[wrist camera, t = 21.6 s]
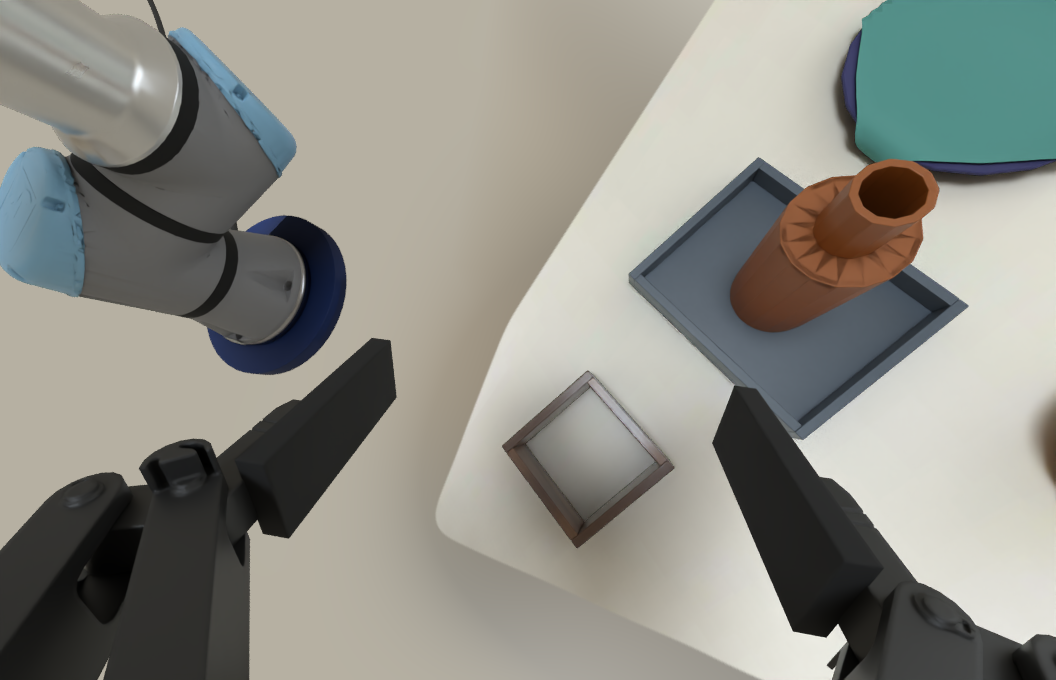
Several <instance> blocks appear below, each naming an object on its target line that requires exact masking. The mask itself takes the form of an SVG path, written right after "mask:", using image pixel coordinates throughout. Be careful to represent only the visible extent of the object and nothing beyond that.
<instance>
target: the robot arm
mask: <svg viewBox="0 0 1056 680" xmlns="http://www.w3.org/2000/svg"><path fill="white" fill-rule="evenodd" d="M147 1H148V3H149V5H150V7H151V10H152V12H153V15H154V18H155V20H156V24H157V27H158V30H159V31H157V30H156V29H155V28H153V27H152V26H150V25H149V24H147V23H145V22H144V21H142V20H140V19H138V18H135V17H132V16H128V15H122V14H110V15H99V14H98V13H97V12H95V11H94V10H92V9H91V8H89V7H88V6H86V5H85V4H84V3H82V2H81V1H79V0H0V105H2V106H5V107H7V108H10V109H12V110H15V111H17V112H20V113H22V114H24V115H27V116H29V117H31V118H34V119H36V120H39V121H41V122H44V123H46V124H48V125H51V126H52V128H53V130H54V131H55V133H56V135H57V136H58V138H59V140H60V141H61V142H62V143H63V144H64V146H65V147H66V148H67V149H69V151H71V152H72V154H71V155H69V156H67V157H64V156H63V155H62V154H61V153H60V152H58V151H56V150H49V149H45V148H41V147H33V148H29V149H27V152H22V153H21V154H19V156H18V157H17V158H16V159H15V160H14V161H13V163H12V164H11V166H10V167H9V169H8V171H7V173H6V175H5V177H4V179H3V182H2V185H1V188H0V265H1V267H2V268H3V269H4V270H5V271H6V272H7V273H8V274H9V275H10V276H12V277H13V278H15V279H17V280H19V281H21V282H24V283H27V284H30V285H35V286H39V287H42V288H46V289H50V290H54V291H58V292H62V293H65V294H67V295H69V296H72V297H78V296H80V297H85V298H90V299H95V300H100V301H105V302H110V303H115V304H120V305H125V306H130V307H136V308H141V309H146V310H151V311H156V312H161V313H166V314H171V315H176V316H181V317H186V318H190V319H193V320H195V321H197V322H199V323H201V324H203V325H204V326H206V327H208V328H210V329H212V330H214V331H216V332H217V333H219V334H221V335H223V336H225V337H227V338H226V339H228V340H230V341H232V342H235V343H239V344H242V343H244V344H250V345H265V344H269V343H272V342H274V341H276V340H278V339H279V338H281V337H282V336H284V335H285V334H286V333H287V332H288V331H290V330H291V328H292V327H293V326H294V325H295V324H296V322H297V321H298V320H299V318H300V316H301V315H302V313H303V311H304V309H305V307H306V304H307V301H308V298H309V294H310V288H311V273H310V267H309V264H308V261H307V259H306V257H305V255H304V254H303V252H302V251H301V250H300V249H299V248H298V247H297V246H296V245H294V244H292V243H290V242H288V241H286V240H284V239H282V238H279V237H276V236H272V235H263V234H257V233H251V232H244V231H238V228H237V221H238V220H239V219H240V218H241V217H242V215H243V214H244V213H245V212H246V211H247V210H248V209H249V208H250V207H251V206H252V205H253V204H254V203H255V202H256V201H257V200H258V199H259V198H260V197H261V195H262V194H263V193H264V192H265V191H266V190H267V189H268V188H269V187H270V186H271V185H272V184H273V183H274V182H275V181H276V180H277V179H278V178H280V177H281V175H282V171H283V170H284V169H285V167H286V166H287V165H288V164H289V162H290V161H291V160H292V158H293V157H294V156H295V153H296V142H295V139H294V138H293V136H292V134H291V133H290V132H289V131H288V130H287V128H286V127H285V126H284V125H283V124H282V123H281V122H280V121H279V120H278V119H277V118H276V117H275V116H274V115H273V114H272V113H271V111H270V110H269V109H268V108H267V107H266V106H265V105H264V104H263V103H262V102H261V101H260V100H259V99H258V98H257V97H256V96H255V95H254V94H253V93H252V92H251V91H250V90H249V89H248V88H247V87H246V86H245V85H244V84H243V83H242V82H241V81H240V80H239V78H238V77H237V76H236V75H234V73H233V72H232V71H230V69H229V68H228V67H227V66H226V65H225V64H224V63H223V62H222V61H221V60H220V59H219V58H218V57H217V56H216V55H215V54H214V53H213V52H212V51H211V50H210V49H209V48H208V47H207V46H206V45H205V44H204V43H203V42H202V41H201V40H200V39H199V38H198V37H196V36H195V35H194V34H193V33H192V32H191V31H190V30H188V29H186V28H179V29H177V30H176V31H170V32H169V35H168V38H167V37H166V35H165V31H164V28H163V25H162V22H161V20H160V16H159V14H158V11H157V9H156V7H155V4H154V2H153V0H147ZM225 337H224V338H225ZM244 344H242V345H244ZM395 399H396V389H395V379H394V369H393V360H392V351H391V341H390V340H384V339H376V338H371V339H370V340H369V341H368V342H367V343H366V344H365V345H364V346H362V347H361V348H360V349H359V350H358V351H357V352H356V353H354V354H353V355H352V356H351V357H350V358H349V359H348V360H346V361H345V362H344V363H343V364H342V365H341V366H340V367H339V368H338V369H336V370H335V371H334V372H333V373H332V374H331V375H330V376H328V377H327V378H326V379H325V380H324V381H323V382H322V383H320V385H318V386H317V387H316V388H315V389H314V390H313V391H311V392H310V393H309V394H308V395H307V396H306V397H305V398H304V399H302V400H301V401H299V400H291V401H289V402H287V403H285V404H283V405H281V406H279V407H277V408H276V409H275V410H273V411H272V412H271V413H270V414H268V415H267V416H266V417H265V418H264V419H263V421H260V422H259V423H258V424H256V425H255V426H254V427H253V428H252V430H249V431H248V432H247V433H246V434H245V435H243V436H242V437H241V438H240V439H239V440H237V441H236V442H235V443H234V444H233V445H231V446H230V447H229V448H228V449H227V450H225V451H224V452H223V453H222V454H221V455H220V456H218V457H217V458H216V455H215V453H214V451H213V448H212V446H211V443H209V442H208V441H206V440H203V439H189V440H183V441H179V442H176V443H173V444H170V445H167V446H165V447H163V448H161V449H159V450H157V451H155V452H154V453H152V454H151V455H150V456H149V457H147V458H146V459H145V460H144V461H143V463H142V464H141V466H140V467H139V469H140V471H141V473H142V475H143V477H144V479H145V480H146V482H147V484H148V485H140V486H130V487H128V486H127V484H126V483H125V481H124V479H123V477H122V476H121V475H120V474H116V473H114V472H112V473H99V474H95V475H91V476H87V477H84V478H82V479H79V480H77V481H75V482H72V483H70V484H68V485H67V486H65V487H63V488H62V489H60V490H58V491H57V492H55V493H54V494H53V495H52V496H51V497H49V498H48V499H47V500H46V501H45V502H44V503H43V504H42V506H41V507H40V508H39V509H38V510H37V511H36V512H35V513H34V514H33V515H32V517H30V519H29V520H28V521H27V522H26V523H25V524H24V525H23V526H22V527H21V528H20V529H19V531H18V532H17V533H16V534H15V535H14V536H13V537H12V538H11V539H10V540H9V541H8V543H7V544H6V545H5V546H4V547H3V548H2V549H1V550H0V680H97V679H98V677H99V676H100V674H101V672H102V670H103V668H104V666H105V664H106V662H107V660H108V658H109V660H108V664H107V668H106V671H105V675H104V679H103V680H249V611H250V609H249V607H250V605H249V604H250V601H249V600H250V597H249V596H250V589H249V588H250V586H249V585H250V539H249V535H248V533H247V531H248V530H249V528H250V527H251V526H252V525H253V524H254V523H255V522H256V521H257V520H258V522H259V525H260V527H261V530H262V532H263V534H267V535H272V536H278V537H284V538H290V537H291V535H292V534H293V533H294V531H295V530H296V529H297V527H298V526H299V524H300V523H301V522H302V521H303V519H304V518H305V517H306V516H307V514H308V513H309V512H310V510H311V509H312V508H313V506H314V505H315V504H316V502H317V501H318V500H319V498H320V497H321V496H322V495H323V493H324V492H325V491H326V489H327V488H328V486H329V485H330V484H331V483H332V481H333V480H334V479H335V477H336V476H337V474H339V472H340V471H341V470H342V468H343V467H344V466H345V464H346V463H347V462H348V460H349V459H350V458H351V456H352V455H353V454H354V453H355V451H356V450H357V448H358V447H359V446H360V445H361V443H362V442H363V441H364V439H365V438H366V437H367V435H368V434H369V433H370V432H371V430H372V429H373V428H374V426H375V425H376V424H377V422H378V421H379V420H380V418H381V417H382V416H383V414H384V413H385V412H386V410H387V409H388V408H389V407H390V405H391V404H392V402H393V401H394V400H395ZM712 444H713V446H714V448H715V451H716V453H717V455H718V458H719V460H720V462H721V465H722V467H723V469H724V472H725V474H726V476H727V479H728V481H729V483H730V486H731V488H732V490H733V493H734V495H735V497H736V500H737V502H738V504H739V507H740V509H741V511H742V514H743V516H744V518H745V521H746V523H747V525H748V528H749V530H750V532H751V535H752V537H753V539H754V542H755V544H756V546H757V549H758V551H759V553H760V556H761V558H762V560H763V563H764V565H765V567H766V570H767V572H768V574H769V577H770V579H771V581H772V584H773V586H774V588H775V591H776V593H777V595H778V598H779V600H780V602H781V605H782V607H783V609H784V612H785V614H786V616H787V619H788V621H789V623H790V626H791V628H792V630H793V632H799V633H804V634H810V635H815V636H820V637H827V636H828V635H829V634H830V633H831V631H832V630H833V629H834V628H835V627H836V625H837V624H839V626H840V628H841V630H842V632H843V634H844V636H845V638H846V639H847V643H846V644H845V645H844V646H843V647H842V648H841V649H840V650H839V652H838V653H837V654H836V655H835V656H834V657H833V658H832V659H831V661H830V662H829V663H828V664H827V666H828V667H829V668H831V669H833V668H834V667H835V666H836V668H835V671H834V674H833V678H832V680H1056V637H1053V636H1050V635H1039V634H1036V635H1035V636H1034V637H1032V638H1031V639H1030V640H1028V641H1027V642H1026V643H1025V644H1023V645H1022V644H1019V643H1017V642H1015V641H1012V640H1010V639H1007V638H1005V637H1003V636H1000V635H998V634H996V633H993V632H991V631H988V630H986V629H984V628H981V627H979V626H976V625H975V624H974V622H973V621H972V619H971V618H970V617H969V616H968V615H967V614H966V613H965V612H964V611H963V610H962V609H961V608H960V607H959V606H958V605H957V604H956V603H955V602H953V601H952V600H950V599H949V598H947V597H946V596H945V595H943V594H942V593H940V592H939V591H937V590H935V589H933V588H931V587H928V586H926V585H924V584H921V583H918V582H917V581H916V580H915V578H914V577H913V576H912V574H911V573H910V572H909V570H908V569H907V568H906V566H905V565H904V564H903V563H902V561H901V560H900V559H899V557H898V556H897V555H896V553H895V552H894V551H893V549H892V548H891V547H890V546H889V544H888V543H887V542H886V540H885V539H884V538H883V536H882V535H881V534H880V532H879V531H878V530H877V529H876V528H874V525H873V523H872V522H871V521H870V519H869V518H868V517H867V515H866V514H863V510H862V509H861V508H860V506H859V505H858V504H857V502H856V501H855V500H854V498H853V497H852V496H851V495H850V494H849V493H848V492H847V491H846V490H845V489H843V488H842V487H841V486H840V485H839V484H837V483H836V482H835V481H834V480H833V479H830V478H823V477H819V476H818V474H817V473H816V472H815V470H814V469H813V467H812V466H811V464H810V463H809V462H808V460H807V459H806V457H805V456H804V455H803V453H802V452H801V450H800V449H799V448H798V446H797V445H796V443H795V442H794V441H793V439H792V438H791V436H790V435H789V434H788V432H787V431H786V429H785V428H784V427H783V425H782V424H781V422H780V421H779V419H778V418H777V417H776V415H775V414H774V412H773V411H772V410H771V408H770V407H769V405H768V404H767V403H766V401H765V400H764V398H763V397H762V396H761V394H760V393H759V391H758V390H757V389H756V388H749V387H741V386H734V388H733V391H732V394H731V396H730V399H729V401H728V404H727V406H726V409H725V412H724V414H723V417H722V419H721V422H720V424H719V427H718V430H717V432H716V435H715V437H714V440H713V442H712Z"/></svg>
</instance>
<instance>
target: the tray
mask: <svg viewBox="0 0 1056 680" xmlns="http://www.w3.org/2000/svg"><path fill="white" fill-rule="evenodd" d="M803 190H804V189H803V188H802V187H800V186H799V185H798V184H796V183H795V182H793V181H792V180H791V179H789V178H788V177H786V176H785V175H783V174H782V173H781V172H779V171H778V170H776V169H775V168H774V167H772V166H771V165H769V164H768V163H766V162H765V161H764V160H762V159H761V158H759V157H758V158H757V159H756V160H755V161H754V162H753V163H751V164H750V165H749V166H748V167H747V168H746V169H745V170H744V171H743V172H741V173H740V174H739V175H738V176H737V177H736V178H735V179H734V180H733V181H731V182H730V183H729V184H728V185H727V186H726V187H725V188H724V189H723V190H721V191H720V192H719V193H718V194H717V195H716V196H715V197H714V198H713V199H711V200H710V201H709V202H708V203H707V204H706V205H705V206H704V207H703V208H701V209H700V210H699V211H698V212H697V213H696V214H695V215H694V216H693V217H691V218H690V219H689V220H688V221H687V222H686V223H685V224H684V225H683V226H681V227H680V228H679V229H678V230H677V231H676V232H675V233H674V234H673V235H671V236H670V237H669V238H668V239H667V240H666V241H665V242H664V243H663V244H661V245H660V246H659V247H658V248H657V249H656V250H655V251H654V252H653V253H651V254H650V255H649V256H648V257H647V258H646V259H645V260H644V261H643V262H641V263H640V264H639V265H638V266H637V267H636V268H635V269H634V270H633V271H631V272H630V273H629V283H630V284H631V285H632V286H633V287H634V288H635V289H636V290H637V291H638V292H639V293H640V294H642V295H643V296H644V297H645V298H646V299H647V300H648V301H649V302H650V303H651V304H652V305H653V306H654V307H655V308H656V309H657V310H658V311H659V312H660V313H661V314H662V315H663V316H664V317H665V318H666V319H668V320H669V321H670V322H671V323H672V324H673V325H674V326H675V327H676V328H677V329H678V330H679V331H680V332H681V333H682V334H683V335H684V336H685V337H686V338H687V339H688V340H689V341H690V342H691V343H692V344H694V345H695V346H696V347H697V348H698V349H699V350H700V351H701V352H702V353H703V354H704V355H705V356H706V357H707V358H708V359H709V360H710V361H711V362H712V363H713V364H714V365H715V366H716V367H717V368H718V369H719V370H721V371H722V372H723V373H724V374H725V375H726V376H727V377H728V378H729V379H730V380H731V381H732V382H733V383H734V384H735V385H736V386H741V387H749V388H756V389H757V390H758V391H759V393H760V394H761V396H762V397H763V398H764V400H765V401H766V403H767V404H768V405H769V407H770V408H771V410H772V411H773V412H774V414H775V415H776V417H777V418H778V419H779V421H780V422H781V424H782V425H783V427H784V428H785V429H786V431H787V432H788V434H789V435H790V436H791V438H796V439H801V440H804V439H805V438H806V437H807V436H809V435H810V434H811V433H812V432H814V431H815V430H816V429H817V428H819V427H820V426H821V425H822V424H824V423H825V422H826V421H827V420H828V419H830V418H831V417H832V416H833V415H835V414H836V413H837V412H838V411H840V410H841V409H842V408H843V407H845V406H846V405H847V404H848V403H850V402H851V401H852V400H853V399H855V398H856V397H857V396H858V395H860V394H861V393H862V392H863V391H865V390H866V389H867V388H868V387H869V386H871V385H872V384H873V383H874V382H876V381H877V380H878V379H879V378H881V377H882V376H883V375H884V374H886V373H887V372H888V371H889V370H891V369H892V368H893V367H894V366H896V365H897V364H898V363H899V362H901V361H902V360H903V359H904V358H906V357H907V356H908V355H909V354H910V353H912V352H913V351H914V350H915V349H917V348H918V347H919V346H920V345H922V344H923V343H924V342H925V341H927V340H928V339H929V338H930V337H932V336H933V335H934V334H935V333H937V332H938V331H939V330H940V329H942V328H943V327H944V326H945V325H947V324H948V323H949V322H950V321H951V320H953V319H954V318H955V317H956V316H958V315H959V314H960V313H961V312H963V311H964V310H965V309H966V308H968V307H969V305H967V304H966V303H964V302H963V301H962V300H960V299H959V298H958V297H956V296H955V295H954V294H952V293H951V292H949V291H948V290H946V289H945V288H944V287H942V286H941V285H939V284H938V283H937V282H935V281H934V280H932V279H931V278H929V277H928V276H927V275H925V274H924V273H922V272H921V271H920V270H918V269H917V268H915V267H914V266H912V265H911V264H909V265H908V266H907V267H906V268H904V269H903V270H902V271H901V272H900V273H898V274H897V275H896V276H895V277H894V278H892V279H890V280H888V281H886V282H884V283H882V284H880V285H878V286H876V287H874V288H872V289H871V290H869V291H867V292H865V293H863V294H861V295H859V296H857V297H855V298H853V299H851V300H849V301H847V302H845V303H843V304H842V305H840V306H838V307H836V308H834V309H832V310H830V311H828V312H826V313H824V314H822V315H820V316H818V317H816V318H814V319H813V320H811V321H809V322H807V323H805V324H803V325H801V326H798V327H796V328H793V329H791V330H787V331H783V332H765V331H761V330H757V329H755V328H753V327H750V326H749V325H747V324H746V323H744V322H743V321H742V320H741V319H740V318H739V317H738V316H737V314H736V313H735V311H734V310H733V307H732V305H731V301H730V290H731V285H732V283H733V281H734V279H735V277H736V275H737V273H738V272H739V271H740V269H741V268H742V267H743V265H744V264H745V262H746V261H747V260H748V258H749V257H750V256H751V254H752V253H753V252H754V250H755V249H756V247H757V246H758V245H759V243H760V242H761V241H762V239H763V238H764V237H765V235H766V234H767V232H768V231H769V230H770V228H771V227H772V226H773V224H774V223H775V222H776V220H777V219H778V217H779V216H780V215H781V213H782V212H783V211H784V209H785V208H786V207H787V205H788V204H789V202H790V201H792V200H793V199H794V198H795V197H796V196H797V195H798V194H800V193H801V192H802V191H803ZM958 299H959V300H958Z"/></svg>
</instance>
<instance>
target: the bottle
mask: <svg viewBox="0 0 1056 680" xmlns="http://www.w3.org/2000/svg"><path fill="white" fill-rule="evenodd" d="M938 194H939V187H938V185H937V183H936V181H935V178H934V176H933V174H932V173H931V172H930V171H929V170H927V169H925V168H924V167H922V166H920V165H919V164H917V163H915V162H913V161H907V160H898V159H887V160H884V161H880V162H877V163H873V164H870V165H868V166H866V167H865V168H864V169H863V170H862V171H860V172H859V173H858V174H857V175H854V176H840V177H831V178H828V179H826V180H823V181H821V182H818V183H816V184H813V185H811V186H808V187H806V188H805V189H804V190H803V191H802V192H801V193H800V194H798V195H797V196H796V197H795V198H794V199H793V200H792V201H790V202H789V204H788V205H787V207H786V208H785V209H784V211H783V212H782V213H781V215H780V216H779V217H778V219H777V220H776V222H775V223H774V224H773V226H772V227H771V228H770V230H769V231H768V232H767V234H766V235H765V237H764V238H763V239H762V241H761V242H760V243H759V245H758V246H757V247H756V249H755V250H754V252H753V253H752V254H751V256H750V257H749V258H748V260H747V261H746V262H745V264H744V265H743V267H742V268H741V269H740V271H739V272H738V273H737V275H736V277H735V279H734V281H733V283H732V285H731V290H730V301H731V305H732V307H733V310H734V311H735V313H736V314H737V316H738V317H739V318H740V319H741V320H742V321H743V322H744V323H746V324H747V325H749V326H750V327H753V328H755V329H757V330H761V331H765V332H783V331H787V330H791V329H793V328H796V327H798V326H801V325H803V324H805V323H807V322H809V321H811V320H813V319H814V318H816V317H818V316H820V315H822V314H824V313H826V312H828V311H830V310H832V309H834V308H836V307H838V306H840V305H842V304H843V303H845V302H847V301H849V300H851V299H853V298H855V297H857V296H859V295H861V294H863V293H865V292H867V291H869V290H871V289H872V288H874V287H876V286H878V285H880V284H882V283H884V282H886V281H888V280H890V279H892V278H894V277H895V276H896V275H897V274H898V273H900V272H901V271H902V270H903V269H904V268H906V267H907V266H908V265H909V264H910V263H912V262H913V260H914V258H915V256H916V254H917V252H918V249H919V247H920V245H921V243H922V241H923V230H922V218H923V217H924V216H925V215H927V214H928V213H929V212H930V211H931V210H933V209H934V207H935V205H936V201H937V197H938Z"/></svg>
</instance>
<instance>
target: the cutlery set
mask: <svg viewBox="0 0 1056 680" xmlns="http://www.w3.org/2000/svg"><path fill="white" fill-rule="evenodd" d="M841 81H842V87H843V94H844V101H845V107H846V109H847V110H848V112H849V113H850V115H851V116H852V118H853V120H854V121H855V123H856V130H855V143H856V145H857V147H858V149H859V150H861V151H862V152H863V153H864V154H865V155H866V156H868V157H869V158H870V159H871V160H873V161H874V162H876V163H877V162H880V161H884V160H887V159H898V160H907V161H913V162H915V163H917V164H919V165H920V166H922V167H924V168H927V169H929V170H932V171H940V172H950V173H959V174H968V175H978V176H983V175H992V174H1000V173H1009V172H1017V171H1026V170H1032V169H1035V168H1038V167H1041V166H1044V165H1046V164H1049V163H1052V162H1055V161H1056V0H887V1H885V2H883V3H882V4H881V5H880V6H879V7H878V8H876V9H875V10H873V11H871V13H870V14H869V15H868V16H866V17H865V18H863V19H862V29H861V30H860V32H859V33H858V35H857V36H856V37H855V39H854V40H853V42H852V43H851V44H850V47H849V50H848V54H847V58H846V61H845V65H844V68H843V72H842V76H841Z"/></svg>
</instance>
